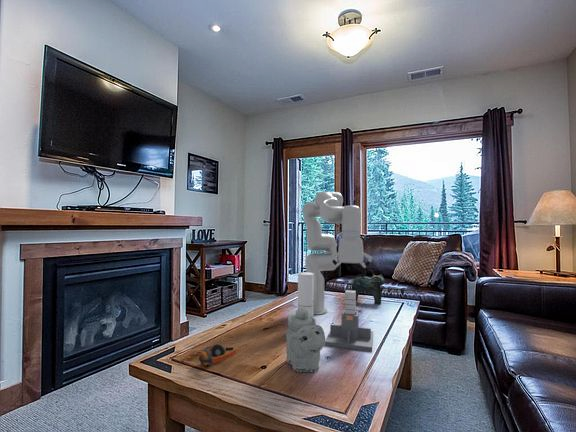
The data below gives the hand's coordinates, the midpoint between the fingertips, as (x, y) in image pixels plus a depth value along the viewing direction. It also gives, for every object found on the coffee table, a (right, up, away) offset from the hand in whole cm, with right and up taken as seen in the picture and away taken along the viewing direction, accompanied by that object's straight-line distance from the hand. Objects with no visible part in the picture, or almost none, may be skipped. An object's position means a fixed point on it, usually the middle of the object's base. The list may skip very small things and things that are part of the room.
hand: (351, 276), depth 128 cm
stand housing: (0, -26, 0) cm, 26 cm away
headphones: (-53, -25, -21) cm, 63 cm away
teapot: (-20, -26, -25) cm, 41 cm away
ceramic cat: (+22, -28, +62) cm, 72 cm away
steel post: (0, -24, 0) cm, 24 cm away
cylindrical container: (-18, -27, +13) cm, 35 cm away
